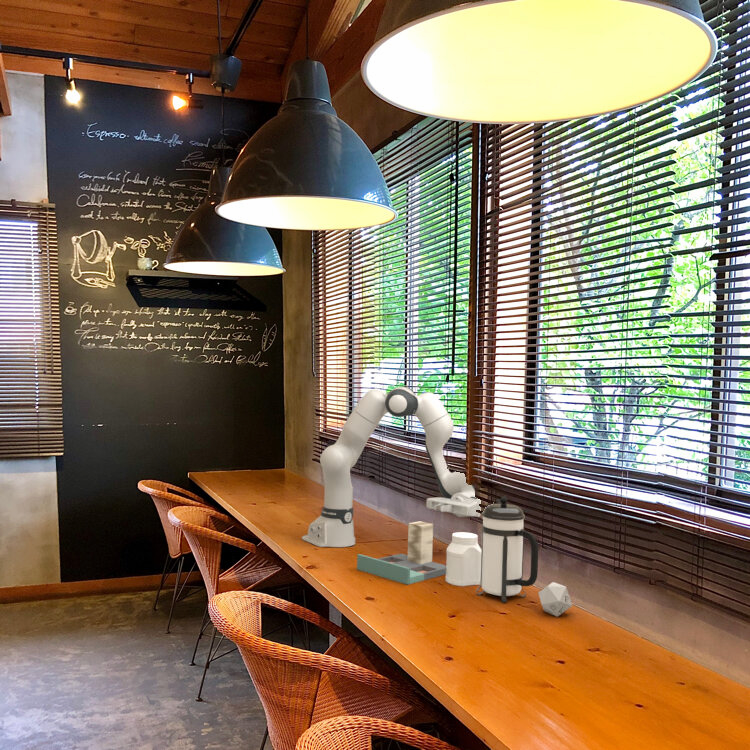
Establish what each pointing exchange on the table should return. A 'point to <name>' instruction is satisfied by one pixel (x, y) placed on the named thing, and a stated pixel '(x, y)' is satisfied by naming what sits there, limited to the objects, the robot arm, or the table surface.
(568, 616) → the table surface
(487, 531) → the coffee press
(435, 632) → the table surface
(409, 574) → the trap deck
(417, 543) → the maple block
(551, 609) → the die
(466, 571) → the jar
